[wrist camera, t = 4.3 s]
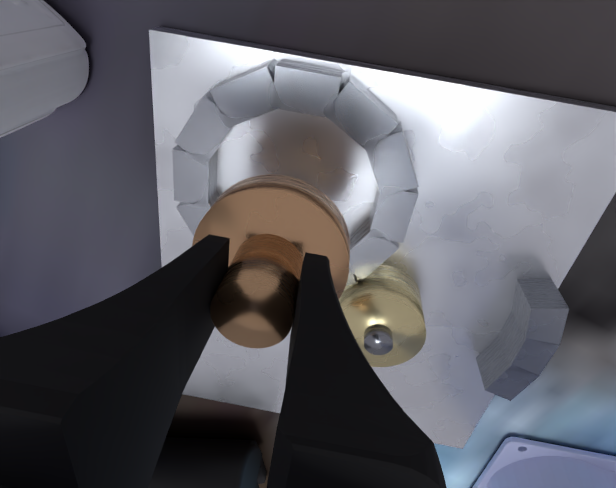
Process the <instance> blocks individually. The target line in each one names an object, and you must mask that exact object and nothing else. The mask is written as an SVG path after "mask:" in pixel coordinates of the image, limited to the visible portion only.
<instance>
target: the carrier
mask: <svg viewBox="0 0 616 488" xmlns="http://www.w3.org/2000/svg"><path fill="white" fill-rule="evenodd" d="M149 41H150V59H151V77H152V96H153V114H154V133H155V151H156V169H157V188H158V206H159V225H160V243H161V261H162V267H163V266H165V265H166V264H168V263H169V262H171V261H172V260H174V259H175V258H177V257H178V256H179V255H181V254H182V253H184V252H185V251H186V250H188V249H189V248H191V247H192V243H193V238H194V235H195V231H196V229H197V227H198V225H199V223H200V221H201V220H202V219H203V217H204V216H205V214H206V213H207V212H208V211H209V209H210V208H211V207H212V205H213V204H214V203H215V201H216V200H217V199H218V197H219V196H220V195H221V194H222V193H223V192H224V191H225V190H227V189H228V188H229V187H231V186H232V185H234V184H236V183H237V182H239V181H241V180H244V179H247V178H249V177H254V176H258V175H267V174H274V175H284V176H290V177H293V178H297V179H300V180H302V181H305V182H307V183H309V184H311V185H313V186H314V187H316V188H318V189H319V190H320V191H322V192H323V193H324V194H326V195H327V196H328V197H329V198H330V199H331V200H332V201H333V202H334V204H335V205H336V206H337V208H338V209H339V210H340V212H341V214H342V216H343V217H344V220H345V222H346V225H347V228H348V232H349V237H350V258H349V275H348V280H347V284H346V286H345V289H344V291H343V293H342V295H341V297H340V298H339V302H340V305H341V308H342V310H343V313H344V315H345V318H346V320H347V322H348V325H349V327H350V329H351V331H352V333H353V335H354V337H355V339H356V341H357V343H358V345H359V347H360V349H361V350H362V352H363V354H364V356H365V357H366V359H367V361H368V362H369V364H370V365H371V367H372V369H373V370H374V372H375V373H376V374H377V376H378V377H379V379H380V380H381V382H382V383H383V384H384V386H385V387H386V389H387V390H388V391H389V393H390V394H391V396H392V397H393V398H394V399H395V401H396V402H397V403H398V404H399V406H400V407H401V408H402V409H403V410H404V412H405V413H406V414H407V415H408V416H409V417H410V418H411V419H412V420H413V421H414V422H415V423H416V425H417V426H418V427H419V428H420V429H421V430H422V431H423V432H424V433H425V434H426V435H427V436H428V437H429V438H430V439H431V440H432V442H433V443H436V444H441V445H446V446H451V447H456V448H462V449H463V447H464V446H465V444H466V442H467V441H468V439H469V437H470V436H471V434H472V432H473V431H474V429H475V427H476V425H477V424H478V422H479V420H480V419H481V417H482V415H483V414H484V412H485V410H486V409H487V407H488V405H489V404H490V402H491V400H492V399H493V397H494V395H498V396H500V397H503V398H505V399H508V400H510V401H511V400H512V399H513V398H514V397H515V396H517V395H518V394H519V393H520V392H521V391H522V390H523V389H525V388H526V387H527V386H528V385H529V384H530V383H532V382H533V381H534V380H535V379H536V378H537V377H538V376H539V375H540V374H541V372H542V371H543V369H544V368H545V366H546V365H547V363H548V362H549V360H550V359H551V357H552V356H553V354H554V353H555V351H556V350H557V348H558V347H559V345H560V342H561V338H562V334H563V330H564V326H565V323H566V319H567V315H568V311H569V307H568V306H567V304H566V302H565V301H564V299H563V297H562V296H561V294H560V292H559V290H558V288H559V286H560V285H561V283H562V281H563V280H564V278H565V276H566V275H567V273H568V271H569V270H570V268H571V266H572V265H573V263H574V261H575V259H576V258H577V256H578V254H579V253H580V251H581V249H582V248H583V246H584V244H585V243H586V241H587V239H588V238H589V236H590V234H591V233H592V231H593V229H594V228H595V226H596V224H597V223H598V221H599V219H600V218H601V216H602V214H603V213H604V211H605V209H606V208H607V206H608V204H609V202H610V201H611V199H612V197H613V196H614V194H615V192H616V107H614V106H608V105H603V104H597V103H591V102H586V101H580V100H574V99H569V98H563V97H557V96H552V95H546V94H541V93H535V92H529V91H524V90H518V89H512V88H507V87H501V86H495V85H490V84H484V83H478V82H473V81H467V80H461V79H456V78H450V77H444V76H439V75H433V74H427V73H422V72H416V71H410V70H405V69H399V68H393V67H388V66H382V65H376V64H371V63H365V62H359V61H354V60H348V59H342V58H337V57H331V56H325V55H320V54H314V53H308V52H303V51H297V50H291V49H286V48H280V47H274V46H269V45H263V44H257V43H252V42H246V41H240V40H235V39H229V38H223V37H218V36H212V35H207V34H201V33H195V32H190V31H184V30H178V29H173V28H167V27H161V26H160V27H156V28H153V29H149ZM291 329H292V327H291ZM290 335H291V330H290V332H289V334H288V335H287V336H286V338H285V339H284V340H282V341H281V342H280V343H278V344H276V345H273V346H271V347H267V348H248V347H243V346H240V345H237V344H235V343H233V342H231V341H230V340H228V339H227V338H225V337H224V336H223V335H222V334H221V333H220V332H219V331H218V330H217V329H216V327H214V329H213V331H212V334H211V336H210V338H209V340H208V342H207V344H206V346H205V348H204V350H203V352H202V354H201V356H200V358H199V360H198V362H197V364H196V366H195V368H194V370H193V372H192V374H191V376H190V378H189V380H188V382H187V384H186V386H185V389H184V391H183V393H182V394H185V395H190V396H195V397H200V398H205V399H210V400H216V401H221V402H226V403H231V404H236V405H241V406H246V407H251V408H257V409H262V410H267V411H272V412H277V413H280V412H281V407H282V402H283V397H284V393H285V385H286V374H287V364H288V354H289V344H290Z"/></svg>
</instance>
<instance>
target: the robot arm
mask: <svg viewBox="0 0 616 488" xmlns="http://www.w3.org/2000/svg"><path fill="white" fill-rule="evenodd" d="M229 244H230V238H226V237H221V236H216V235H210V234H209V235H207V236H206V237H204V238H203V239H202V240H200V241H199V242H197V243H196V244H195V245H193V246H192V247H191V248H189V249H188V250H186V251H185V252H184V253H182V254H181V255H179V256H178V257H177V258H175V259H174V260H172V261H171V262H169V263H168V264H166V265H165V266H163V267H162V268H161V269H159V270H157V271H156V272H154V273H153V274H151V275H149V276H148V277H146V278H145V279H143V280H141V281H140V282H138V283H136V284H135V285H133V286H131V287H129V288H127V289H125V290H124V291H122V292H120V293H118V294H116V295H114V296H112V297H110V298H107V299H105V300H103V301H101V302H99V303H97V304H95V305H92V306H90V307H87V308H85V309H82V310H80V311H77V312H75V313H72V314H70V315H68V316H65V317H63V318H60V319H57V320H54V321H51V322H49V323H46V324H43V325H40V326H37V327H34V328H30V329H27V330H24V331H21V332H18V333H14V334H11V335H7V336H3V337H0V488H148V487H149V484H150V481H151V478H152V475H153V472H154V469H155V466H156V464H157V461H158V458H159V455H160V452H161V449H162V447H163V444H164V441H165V438H166V435H167V433H168V430H169V427H170V424H171V422H172V419H173V416H174V414H175V411H176V408H177V406H178V403H179V400H180V398H181V395H182V393H183V391H184V389H185V386H186V384H187V382H188V380H189V378H190V376H191V374H192V372H193V370H194V368H195V366H196V364H197V362H198V360H199V358H200V356H201V354H202V352H203V350H204V348H205V346H206V344H207V342H208V340H209V338H210V336H211V334H212V331H213V329H214V327H215V325H214V324H213V321H212V319H211V315H210V305H211V301H212V298H213V297H214V295H215V293H216V291H217V289H218V287H219V285H220V283H221V281H222V279H223V277H224V275H225V273H226V271H227V269H228V264H229ZM267 488H446V484H445V479H444V475H443V472H442V468H441V465H440V461H439V458H438V455H437V452H436V449H435V446H434V443H433V442H432V440H431V439H430V438H429V437H428V436H427V435H426V434H425V433H424V432H423V431H422V430H421V429H420V428H419V427H418V426H417V425H416V423H415V422H414V421H413V420H412V419H411V418H410V417H409V416H408V415H407V414H406V413H405V412H404V410H403V409H402V408H401V407H400V406H399V404H398V403H397V402H396V401H395V399H394V398H393V397H392V396H391V394H390V393H389V391H388V390H387V389H386V387H385V386H384V384H383V383H382V382H381V380H380V379H379V377H378V376H377V374H376V373H375V372H374V370H373V369H372V367H371V365H370V364H369V362H368V361H367V359H366V357H365V356H364V354H363V352H362V350H361V349H360V347H359V345H358V343H357V341H356V339H355V337H354V335H353V333H352V331H351V329H350V327H349V325H348V322H347V320H346V318H345V315H344V313H343V310H342V308H341V305H340V302H339V299H338V296H337V294H336V290H335V287H334V283H333V279H332V275H331V270H330V260H329V259H328V257H327V256H323V255H318V254H312V253H307V252H305V256H304V260H303V264H302V269H301V275H300V281H299V287H298V293H297V299H296V306H295V314H294V319H293V324H292V329H291V335H290V344H289V354H288V364H287V374H286V385H285V393H284V397H283V402H282V407H281V412H280V416H279V421H278V426H277V431H276V437H275V443H274V448H273V454H272V460H271V466H270V472H269V477H268V483H267ZM472 488H616V456H611V455H605V454H600V453H595V452H590V451H585V450H580V449H574V448H569V447H564V446H559V445H554V444H549V443H544V442H538V441H533V440H528V439H523V438H518V437H508V438H506V439H505V440H504V441H503V443H502V444H501V446H500V447H499V449H498V450H497V452H496V453H495V455H494V456H493V458H492V459H491V461H490V462H489V464H488V465H487V467H486V468H485V470H484V471H483V472H482V474H481V475H480V477H479V478H478V480H477V481H476V483H475V484H474V486H473V487H472Z"/></svg>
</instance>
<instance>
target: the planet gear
mask: <svg viewBox="0 0 616 488" xmlns="http://www.w3.org/2000/svg"><path fill="white" fill-rule="evenodd" d="M209 234H210V235H216V236H221V237H226V238H230V244H229V264H228V269H227V271H226V273H225V275H224V277H223V279H222V281H221V283H220V285H219V287H218V289H217V291H216V293H215V295H214V297H213V298H212V301H211V305H210V315H211V319H212V321H213V324H214V325H215V327H216V329H217V330H218V331H219V332H220V333H221V334H222V335H223V336H224V337H225V338H227V339H228V340H230V341H231V342H233V343H235V344H237V345H240V346H243V347H248V348H267V347H271V346H273V345H276V344H278V343H280V342H281V341H282V340H284V339H285V338H286V336H287V335H288V334H289V332H290V330H291V327H292V324H293V319H294V314H295V306H296V299H297V293H298V287H299V281H300V275H301V269H302V264H303V260H304V256H305V252H307V253H312V254H318V255H323V256H327V257H328V259H329V260H330V270H331V275H332V279H333V283H334V287H335V290H336V294H337V296H338V299H339V298H340V297H341V295H342V293H343V291H344V289H345V286H346V284H347V280H348V275H349V258H350V237H349V232H348V228H347V225H346V222H345V220H344V217H343V216H342V214H341V212H340V210H339V209H338V208H337V206H336V205H335V204H334V202H333V201H332V200H331V199H330V198H329V197H328V196H327V195H326V194H324V193H323V192H322V191H320V190H319V189H318V188H316V187H314V186H313V185H311V184H309V183H307V182H305V181H302V180H300V179H297V178H293V177H290V176H284V175H274V174H267V175H258V176H254V177H249V178H247V179H244V180H241V181H239V182H237V183H236V184H234V185H232V186H231V187H229V188H228V189H227V190H225V191H224V192H223V193H222V194H221V195H220V196H219V197H218V199H217V200H216V201H215V203H214V204H213V205H212V207H211V208H210V209H209V211H208V212H207V213H206V214H205V216H204V217H203V219H202V220H201V221H200V223H199V225H198V227H197V229H196V231H195V235H194V238H193V243H192V246H193V245H195V244H196V243H197V242H199V241H200V240H202V239H203V238H204V237H206V236H207V235H209Z"/></svg>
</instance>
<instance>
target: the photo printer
mask: <svg viewBox="0 0 616 488" xmlns="http://www.w3.org/2000/svg"><path fill="white" fill-rule="evenodd" d="M85 48H86V43H85V41H84V40H83V38H82V37H81V36H80V35H79V34H78V33H77V32H76V31H75V30H74V29H73V27H72V26H71V25H70V24H69V23H68V22H67V21H66V20H65V19H64V18H63V17H62V16H61V15H60V14H59V13H57V12H56V11H55V10H54V9H53V8H52V7H51V6H49V5H48V4H47V3H46V2H45V1H44V0H0V138H1V137H3V136H6V135H8V134H10V133H12V132H14V131H17V130H19V129H21V128H23V127H25V126H27V125H30V124H32V123H34V122H36V121H38V120H41V119H43V118H45V117H47V116H48V115H50V114H51V113H53V112H54V111H55V110H56V108H57V107H60V106H62V105H64V104H67V103H69V102H71V101H73V100H74V99H76V98H77V97H78V96H79V95H80V94H81V92H82V91H83V90H84V88H85V86H86V83H87V80H88V75H89V61H88V55H87V52H86V51H85V50H84V49H85Z"/></svg>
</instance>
